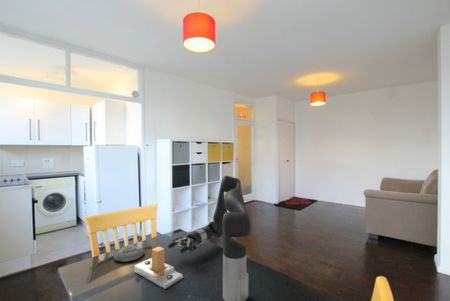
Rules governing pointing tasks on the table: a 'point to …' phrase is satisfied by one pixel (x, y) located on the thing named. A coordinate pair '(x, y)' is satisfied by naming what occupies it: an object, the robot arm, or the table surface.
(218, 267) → the table surface
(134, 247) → the flying saucer
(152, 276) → the white peg board
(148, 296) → the table surface
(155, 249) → the pin
